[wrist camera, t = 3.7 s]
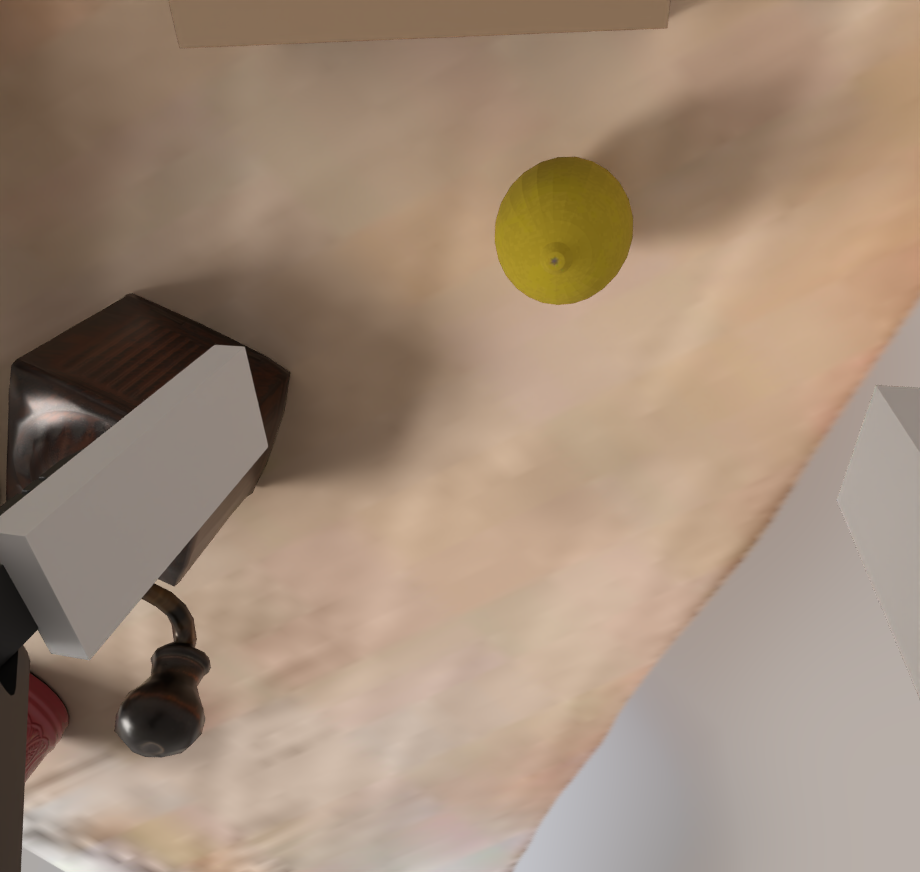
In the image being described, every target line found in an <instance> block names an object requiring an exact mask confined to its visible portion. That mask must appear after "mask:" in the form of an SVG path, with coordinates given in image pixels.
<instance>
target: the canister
mask: <svg viewBox="0 0 920 872" xmlns="http://www.w3.org/2000/svg"><path fill="white" fill-rule="evenodd" d="M68 722H69V718H68V713H67V710H66V708H65V706H64V705H63V703H62V701H61V700H60V699H59V697H58V696H57V695H56V694H55V693H54V692H53V691H52V690H51V689H50V688H49V687H48V686H47V685H46V684H44V683H43V682H42V681H41V680H39V679H38V678H36V677H35V676H34V675H32V674H30V673H29V694H28V717H27V740H26V763H25V782H26V781H27V779H28V778H29V777H30V775H31V774H32V773H33V772H34V770H35V769H36V768H37V766H38V765H39V764H40V763H41V761H42V760H43V759H44V757H45V756H46V755H47V754H48V753H49V752H51V751H52V750H53V749H54V748H55V746H56V744H57V743H58V742H59V741H60V739H61V738H62V735H63V732H64V731H65V729H66V728H67V726H68Z"/></svg>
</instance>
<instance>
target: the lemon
mask: <svg viewBox="0 0 920 872" xmlns="http://www.w3.org/2000/svg"><path fill="white" fill-rule="evenodd" d="M632 237H633V216H632V212H631V207H630V203H629V199H628V197H627V195H626V193H625V192H624V190H623V188H622V186H621V184H620V183H619V181H618V180H617V179H616V178H615V177H614V176H613V175H612V174H611V173H610V172H609V171H608V170H606V169H605V168H603V167H601V166H600V165H598V164H596V163H594V162H593V161H589V160H585V159H582V158H578V157H557V158H554V159H550V160H547V161H544V162H541V163H539V164H537V165H536V166H534V167H532V168H531V169H529V170H527V171H526V172H524V173H523V174H522V175H521V176H520V177H519V178H518V179H517V180H516V181H515V182H514V183H513V184H512V186H511V187H510V189H509V190H508V192H507V194H506V195H505V197H504V199H503V201H502V202H501V205H500V208H499V212H498V215H497V219H496V223H495V245H496V250H497V254H498V259H499V262H500V264H501V266H502V268H503V270H504V272H505V274H506V276H507V277H508V279H509V280H510V281H511V282H512V283H513V284H514V286H515V287H516V288H517V289H518V290H520V291H521V292H523V293H524V294H525V295H527V296H528V297H530V298H533V299H535V300H537V301H540V302H542V303H548V304H556V305H561V304H572V303H576V302H579V301H582V300H585V299H588V298H590V297H591V296H593V295H594V294H596V293H597V292H599V291H600V290H602V289H603V288H604V287H605V286H606V285H607V284H608V283H609V282H610V281H611V280H612V279H613V278H614V277H615V276H616V275H617V273H618V272H619V270H620V268H621V267H622V265H623V263H624V261H625V260H626V258H627V255H628V252H629V248H630V245H631V241H632Z"/></svg>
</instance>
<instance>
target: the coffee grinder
mask: <svg viewBox="0 0 920 872" xmlns="http://www.w3.org/2000/svg"><path fill="white" fill-rule="evenodd" d="M214 345H227V346H243V347H245V350H246V354H247V358H248V362H249V367H250V371H251V375H252V379H253V384H254V388H255V392H256V396H257V401H258V405H259V409H260V413H261V418H262V422H263V426H264V430H265V435H266V439H267V443H268V448H267V449H266V450H265V451H264V453H263V454H262V455H261V456H260V457H259V459H258V460H257V461H256V462H255V463H254V464H253V466H252V467H251V468H250V469H249V470H248V472H247V473H246V474H245V475H244V476H243V478H242V479H241V480H240V481H239V482H238V484H237V485H236V486H235V487H234V488H233V490H232V491H231V492H230V493H229V494H228V496H227V497H226V498H225V499H224V500H223V502H222V503H221V504H220V505H219V506H218V507H217V509H216V510H215V511H214V512H213V513H212V515H211V516H210V517H209V518H208V519H207V521H206V522H205V523H204V524H203V525H202V527H201V528H200V529H199V530H198V531H197V533H196V534H195V535H194V536H193V537H192V539H191V540H190V541H189V542H188V543H187V545H186V546H185V547H184V548H183V549H182V551H181V552H180V553H179V554H178V555H177V556H176V558H175V559H174V560H173V561H172V562H171V564H170V565H169V566H168V567H167V568H166V570H165V571H164V572H163V573H162V574H161V576H160V577H159V578H158V579H159V580H161V581H164V582H166V583H168V584H170V585H172V586H175V585H177V584H178V583H179V582H180V581H181V579H182V578H183V577H184V575H185V574H186V573H187V571H188V570H189V569H190V568H191V566H192V565H193V564H194V562H195V561H196V560H197V558H198V557H199V556H200V555H201V553H202V552H203V551H204V549H205V548H206V547H207V545H208V544H209V543H210V542H211V540H212V539H213V538H214V536H215V535H216V534H217V532H218V531H219V530H220V528H221V527H222V526H223V525H224V523H225V522H226V521H227V519H228V518H229V517H230V515H231V514H232V513H233V512H234V511H235V510H236V508H237V507H238V506H239V505H240V504H241V503H242V501H243V500H244V499H245V498H246V497H247V496H248V495H250V494H252V493H253V491H254V488H255V486H256V484H257V482H258V480H259V478H260V476H261V474H262V472H263V470H264V468H265V466H266V463H267V461H268V458H269V455H270V452H271V449H272V446H273V443H274V440H275V437H276V435H277V432H278V429H279V426H280V423H281V420H282V417H283V414H284V411H285V404H286V397H287V391H288V384H289V377H290V372H288V371H287V370H285V369H284V368H283V367H281V366H280V365H278V364H277V363H275V362H274V361H272V360H271V359H269V358H268V357H266V356H264V355H262V354H260V353H258V352H256V351H255V350H253V349H251V348H249V347H247V346H245V345H243V344H241V343H239V342H237V341H235V340H233V339H231V338H229V337H227V336H225V335H222V334H220V333H218V332H216V331H214V330H212V329H210V328H208V327H206V326H204V325H202V324H200V323H198V322H196V321H193V320H191V319H189V318H187V317H184V316H182V315H180V314H178V313H175V312H173V311H171V310H169V309H166V308H164V307H162V306H160V305H157V304H155V303H153V302H151V301H148V300H146V299H144V298H142V297H139V296H137V295H135V294H133V293H132V294H127V295H126V296H125V297H124V298H122V299H121V300H119V301H117V302H115V303H114V304H112V305H110V306H109V307H107V308H105V309H103V310H102V311H100V312H98V313H96V314H95V315H93V316H91V317H89V318H88V319H86V320H84V321H82V322H81V323H79V324H77V325H75V326H74V327H72V328H70V329H68V330H67V331H65V332H63V333H62V334H60V335H58V336H57V337H55V338H53V339H51V340H50V341H48V342H46V343H45V344H43V345H41V346H39V347H38V348H36V349H34V350H33V351H31V352H29V353H27V354H26V355H24V356H22V357H20V358H18V359H17V360H16V361H15V362H14V363H13V364H12V366H11V377H10V388H9V413H8V446H7V475H6V502H7V501H9V500H10V499H11V498H12V497H14V496H15V495H16V494H17V493H18V494H21V493H22V490H23V489H24V488H25V487H26V486H28V485H29V484H30V483H32V482H33V481H34V480H39V476H40V475H42V474H43V473H44V472H46V471H47V470H48V469H49V468H51V467H52V466H53V465H55V464H56V463H57V462H58V461H60V460H61V459H63V458H65V457H67V456H69V455H71V454H73V453H75V452H77V451H79V450H81V449H83V448H85V447H87V446H88V445H90V444H91V443H92V442H93V441H95V440H96V439H97V438H98V437H100V436H101V435H102V434H103V433H105V432H106V431H107V430H108V429H110V428H111V427H112V426H114V425H115V424H116V423H117V422H119V421H120V420H121V419H122V418H124V417H125V416H126V415H127V414H129V413H130V412H131V411H132V410H134V409H135V408H136V407H137V406H139V405H140V404H141V403H142V402H144V401H145V400H146V399H147V398H149V397H150V396H151V395H152V394H154V393H155V392H156V391H157V390H159V389H160V388H161V387H162V386H164V385H165V384H166V383H167V382H169V381H170V380H171V379H172V378H174V377H175V376H176V375H177V374H179V373H180V372H181V371H183V370H184V369H185V368H186V367H188V366H189V365H190V364H191V363H193V362H194V361H195V360H196V359H198V358H199V357H200V356H201V355H203V354H204V353H205V352H206V351H208V350H209V349H210V348H211V347H213V346H214ZM141 599H143V600H145V601H147V602H149V603H151V604H152V605H154V606H156V607H157V608H158V609H160V610H161V611H162V612H163V613H165V614H166V615H167V616H168V618H169V620H170V622H171V624H172V630H173V638H174V642H172V643H169V644H166V645H164V646H162V647H160V648H158V649H157V650H156V651H155V653H154V654H153V655H152V657H151V662H152V670H151V676H150V677H149V678H148V679H147V680H146V681H145V682H144V683H143V684H142V685H141V686H139V687H137V688H136V689H134V690H132V691H131V692H129V693H128V695H127V696H126V698H125V699H124V701H123V702H122V704H121V706H120V708H119V710H118V713H117V715H116V721H115V730H114V731H115V732H116V733H117V734H118V736H119V737H120V738H121V739H122V740H123V741H124V743H125V744H126V745H127V746H128V747H129V748H130V749H131V751H132V752H134V753H137V754H139V755H142V756H145V757H165V756H170V755H174V754H179V753H182V752H183V751H185V750H186V749H187V748H188V747H189V746H190V745H191V744H192V743H193V742H194V741H195V740H196V739H197V738H198V737H199V736H200V735H201V734H202V730H203V727H204V723H205V715H204V711H203V707H202V703H201V700H200V697H199V693H198V689H197V686H198V684H199V683H200V681H201V679H202V678H203V676H204V675H206V674H207V673H208V672H209V670H210V668H211V667H210V660H209V657H208V656H207V655H206V654H205V653H204V652H202V651H200V650H198V649H196V648H195V645H196V640H197V638H196V631H195V625H194V619H193V617H192V615H191V613H190V612H189V610H188V608H187V607H186V605H185V604H184V603H183V602H182V601H181V600H180V599H179V598H177V597H176V596H175V595H174V594H173V593H172V592H170V591H168V590H166V589H164V588H162V587H160V586H158V585H156V584H153V585H152V586H151V588H150V589H149V590H148V591H147V592H146V594H145V595H144V596H143V597H142V598H141Z"/></svg>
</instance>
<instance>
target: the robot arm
mask: <svg viewBox="0 0 920 872" xmlns="http://www.w3.org/2000/svg"><path fill="white" fill-rule="evenodd" d="M267 448H268V443H267V439H266V435H265V430H264V426H263V422H262V418H261V413H260V409H259V405H258V401H257V396H256V392H255V388H254V384H253V379H252V375H251V371H250V367H249V362H248V358H247V354H246V350H245V347H243V346H227V345H214V346H213V347H211V348H210V349H209V350H208V351H206V352H205V353H204V354H203V355H201V356H200V357H199V358H198V359H196V360H195V361H194V362H193V363H191V364H190V365H189V366H188V367H186V368H185V369H184V370H183V371H181V372H180V373H179V374H177V375H176V376H175V377H174V378H172V379H171V380H170V381H169V382H167V383H166V384H165V385H164V386H162V387H161V388H160V389H159V390H157V391H156V392H155V393H154V394H152V395H151V396H150V397H149V398H147V399H146V400H145V401H144V402H142V403H141V404H140V405H139V406H137V407H136V408H135V409H134V410H132V411H131V412H130V413H129V414H127V415H126V416H125V417H124V418H122V419H121V420H120V421H119V422H117V423H116V424H115V425H114V426H112V427H111V428H110V429H108V430H107V431H106V432H105V433H103V434H102V435H101V436H100V437H98V438H97V439H96V440H95V441H93V442H92V443H91V444H90V445H88V446H87V447H85V448H83V449H81V450H79V451H77V452H75V453H73V454H71V455H69V456H67V457H65V458H63V459H61V460H60V461H58V462H57V463H56V464H55V465H53V466H52V467H51V468H49V469H48V470H47V471H46V472H44V473H43V474H42V475H40V476H39V480H34V481H33V482H32V483H30V484H29V485H28V486H26V487H25V488H24V489H23V490H22V493H21V494H18V493H17V494H16V495H15V496H14V497H12V498H11V499H10V500H9V501H7V502H6V503H5V504H3V505H2V506H1V507H0V872H21V854H22V831H23V808H24V786H25V763H26V740H27V717H28V694H29V671H30V659H29V656H28V653H27V651H26V649H25V647H24V646H23V644H24V643H25V642H26V641H27V640H28V639H29V638H30V637H31V636H32V635H33V634H34V633H35V632H36V631H37V630H38V631H39V633H40V635H41V636H42V638H43V640H44V642H45V644H46V645H47V647H48V649H49V651H50V652H51V654H57V655H62V656H68V657H73V658H79V659H85V660H90V659H91V658H92V657H93V656H94V654H95V653H96V652H97V651H98V650H99V649H100V647H101V646H102V645H103V644H104V643H105V641H106V640H107V639H108V638H109V637H110V635H111V634H112V633H113V632H114V631H115V629H116V628H117V627H118V626H119V625H120V623H121V622H122V621H123V620H124V619H125V617H126V616H127V615H128V614H129V613H130V611H131V610H132V609H133V608H134V607H135V605H136V604H137V603H138V602H139V601H140V600H141V598H142V597H143V596H144V595H145V594H146V592H147V591H148V590H149V589H150V588H151V586H152V585H153V584H154V583H155V582H156V580H157V579H158V578H159V577H160V576H161V574H162V573H163V572H164V571H165V570H166V568H167V567H168V566H169V565H170V564H171V562H172V561H173V560H174V559H175V558H176V556H177V555H178V554H179V553H180V552H181V551H182V549H183V548H184V547H185V546H186V545H187V543H188V542H189V541H190V540H191V539H192V537H193V536H194V535H195V534H196V533H197V531H198V530H199V529H200V528H201V527H202V525H203V524H204V523H205V522H206V521H207V519H208V518H209V517H210V516H211V515H212V513H213V512H214V511H215V510H216V509H217V507H218V506H219V505H220V504H221V503H222V502H223V500H224V499H225V498H226V497H227V496H228V494H229V493H230V492H231V491H232V490H233V488H234V487H235V486H236V485H237V484H238V482H239V481H240V480H241V479H242V478H243V476H244V475H245V474H246V473H247V472H248V470H249V469H250V468H251V467H252V466H253V464H254V463H255V462H256V461H257V460H258V459H259V457H260V456H261V455H262V454H263V453H264V451H265V450H266V449H267ZM837 503H838V505H839V508H840V510H841V512H842V515H843V517H844V520H845V522H846V524H847V527H848V529H849V531H850V534H851V536H852V539H853V541H854V543H855V546H856V548H857V551H858V553H859V555H860V558H861V560H862V562H863V565H864V567H865V570H866V572H867V574H868V577H869V579H870V582H871V584H872V586H873V589H874V591H875V593H876V596H877V598H878V601H879V603H880V605H881V608H882V610H883V613H884V615H885V617H886V620H887V622H888V624H889V627H890V629H891V632H892V634H893V636H894V639H895V641H896V644H897V646H898V648H899V651H900V653H901V656H902V658H903V660H904V663H905V665H906V668H907V670H908V672H909V675H910V677H911V680H912V682H913V684H914V687H915V689H916V691H917V694H918V696H919V698H920V388H915V387H898V386H882V385H876V386H875V389H874V392H873V395H872V398H871V400H870V403H869V406H868V409H867V412H866V415H865V418H864V421H863V424H862V427H861V430H860V433H859V436H858V439H857V442H856V444H855V448H854V450H853V453H852V456H851V459H850V462H849V465H848V468H847V471H846V474H845V477H844V480H843V483H842V486H841V489H840V491H839V495H838V497H837Z"/></svg>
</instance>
